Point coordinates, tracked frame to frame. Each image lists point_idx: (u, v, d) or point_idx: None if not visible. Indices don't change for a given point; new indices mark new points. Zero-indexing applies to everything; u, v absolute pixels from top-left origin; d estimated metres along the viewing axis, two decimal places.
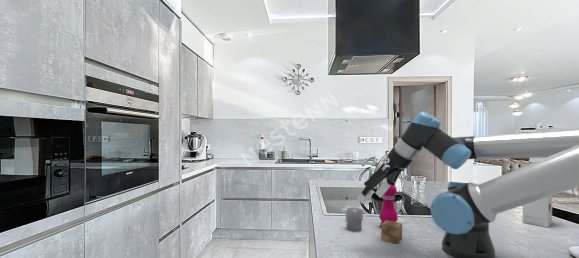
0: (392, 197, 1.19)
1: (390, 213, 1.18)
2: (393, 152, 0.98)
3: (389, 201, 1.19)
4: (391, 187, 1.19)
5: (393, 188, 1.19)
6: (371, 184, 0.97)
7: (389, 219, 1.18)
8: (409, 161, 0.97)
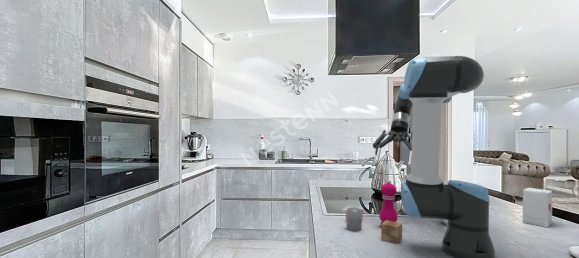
0: (392, 197, 1.19)
1: (390, 213, 1.18)
2: None
3: (389, 201, 1.19)
4: (391, 187, 1.19)
5: (393, 188, 1.19)
6: None
7: (389, 219, 1.18)
8: (397, 120, 1.35)
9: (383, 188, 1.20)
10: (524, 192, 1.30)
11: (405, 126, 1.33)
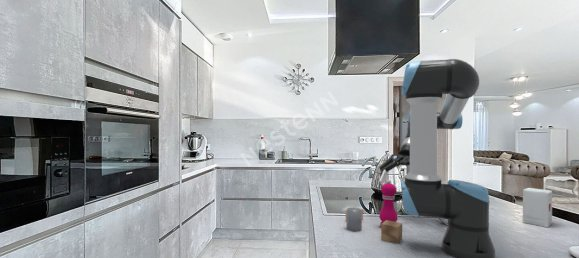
0: (392, 197, 1.19)
1: (390, 213, 1.18)
2: None
3: (389, 201, 1.19)
4: (391, 187, 1.19)
5: (393, 188, 1.19)
6: None
7: (389, 219, 1.18)
8: (405, 145, 1.37)
9: (383, 188, 1.20)
10: (524, 192, 1.30)
11: None
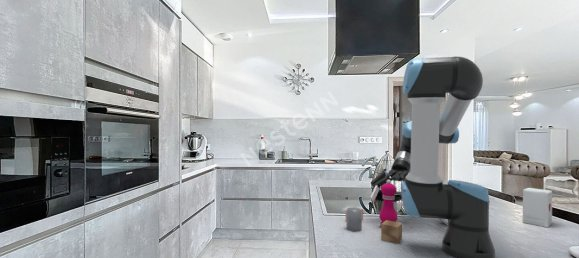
0: (392, 197, 1.19)
1: (390, 213, 1.18)
2: None
3: (389, 201, 1.19)
4: (391, 187, 1.19)
5: (393, 188, 1.19)
6: None
7: (389, 219, 1.18)
8: (398, 159, 1.30)
9: (383, 188, 1.20)
10: (524, 192, 1.30)
11: (405, 165, 1.27)
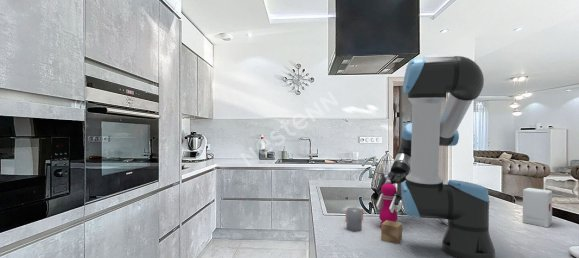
0: (392, 197, 1.19)
1: (390, 213, 1.18)
2: None
3: (389, 201, 1.19)
4: (391, 187, 1.19)
5: (393, 188, 1.19)
6: None
7: (389, 219, 1.18)
8: (397, 161, 1.29)
9: (383, 188, 1.20)
10: (524, 192, 1.31)
11: (404, 168, 1.26)
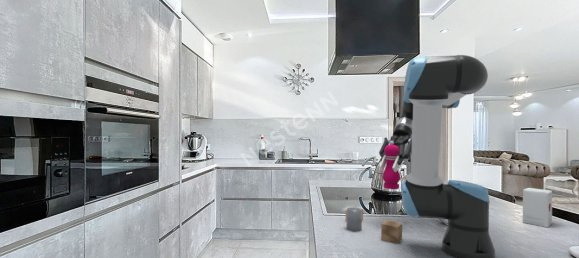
0: (395, 157, 1.21)
1: (393, 173, 1.20)
2: None
3: (392, 161, 1.22)
4: (394, 147, 1.21)
5: (396, 148, 1.21)
6: None
7: (392, 178, 1.20)
8: (399, 125, 1.31)
9: (386, 149, 1.22)
10: (524, 192, 1.31)
11: (407, 130, 1.28)
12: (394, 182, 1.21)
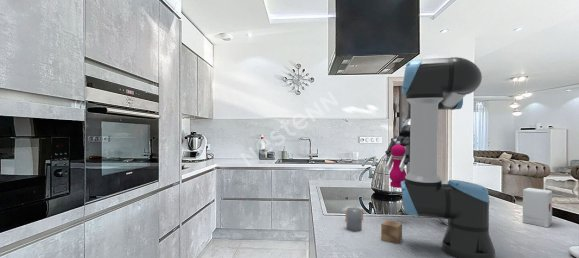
0: (402, 157, 1.26)
1: (400, 172, 1.25)
2: None
3: (398, 161, 1.26)
4: (401, 147, 1.26)
5: (403, 148, 1.26)
6: None
7: (398, 177, 1.25)
8: (406, 126, 1.36)
9: (393, 149, 1.27)
10: (524, 192, 1.31)
11: None
12: (400, 181, 1.25)
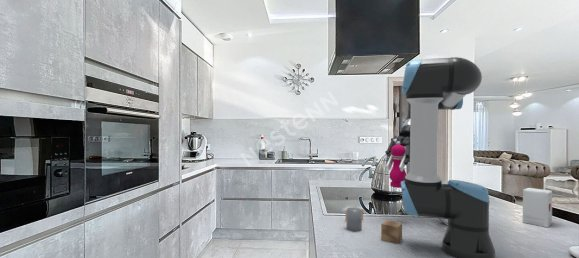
0: (402, 157, 1.26)
1: (400, 172, 1.25)
2: None
3: (398, 161, 1.26)
4: (401, 147, 1.26)
5: (403, 148, 1.26)
6: None
7: (398, 177, 1.25)
8: (406, 126, 1.36)
9: (393, 149, 1.27)
10: (524, 192, 1.31)
11: None
12: (400, 181, 1.25)
